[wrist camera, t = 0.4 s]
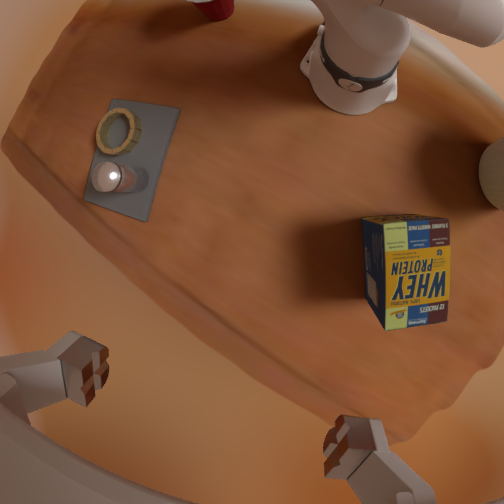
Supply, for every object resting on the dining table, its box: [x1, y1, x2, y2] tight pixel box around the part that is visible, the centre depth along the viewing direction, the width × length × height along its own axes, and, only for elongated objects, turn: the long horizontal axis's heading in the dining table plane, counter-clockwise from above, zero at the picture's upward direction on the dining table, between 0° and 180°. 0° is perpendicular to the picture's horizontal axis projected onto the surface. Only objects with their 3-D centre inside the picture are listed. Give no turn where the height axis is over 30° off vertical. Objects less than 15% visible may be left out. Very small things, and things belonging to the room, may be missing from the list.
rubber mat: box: [83, 99, 180, 222], centre depth 56 cm, size 23×17×1 cm
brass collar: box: [96, 108, 142, 156], centre depth 54 cm, size 10×10×3 cm
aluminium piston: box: [92, 161, 149, 192], centre depth 50 cm, size 5×5×12 cm
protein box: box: [361, 214, 450, 331], centre depth 45 cm, size 10×15×16 cm
